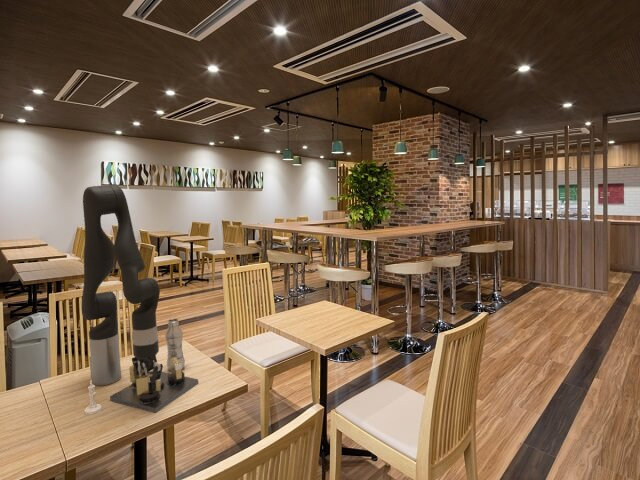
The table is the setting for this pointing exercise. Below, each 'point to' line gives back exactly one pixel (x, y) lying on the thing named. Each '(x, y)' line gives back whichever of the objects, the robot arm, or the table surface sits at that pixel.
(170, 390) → the plate
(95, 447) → the table surface
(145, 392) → the knob
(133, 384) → the knob
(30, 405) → the table surface
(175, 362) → the knob
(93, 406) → the chess piece
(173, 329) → the plastic bottle
